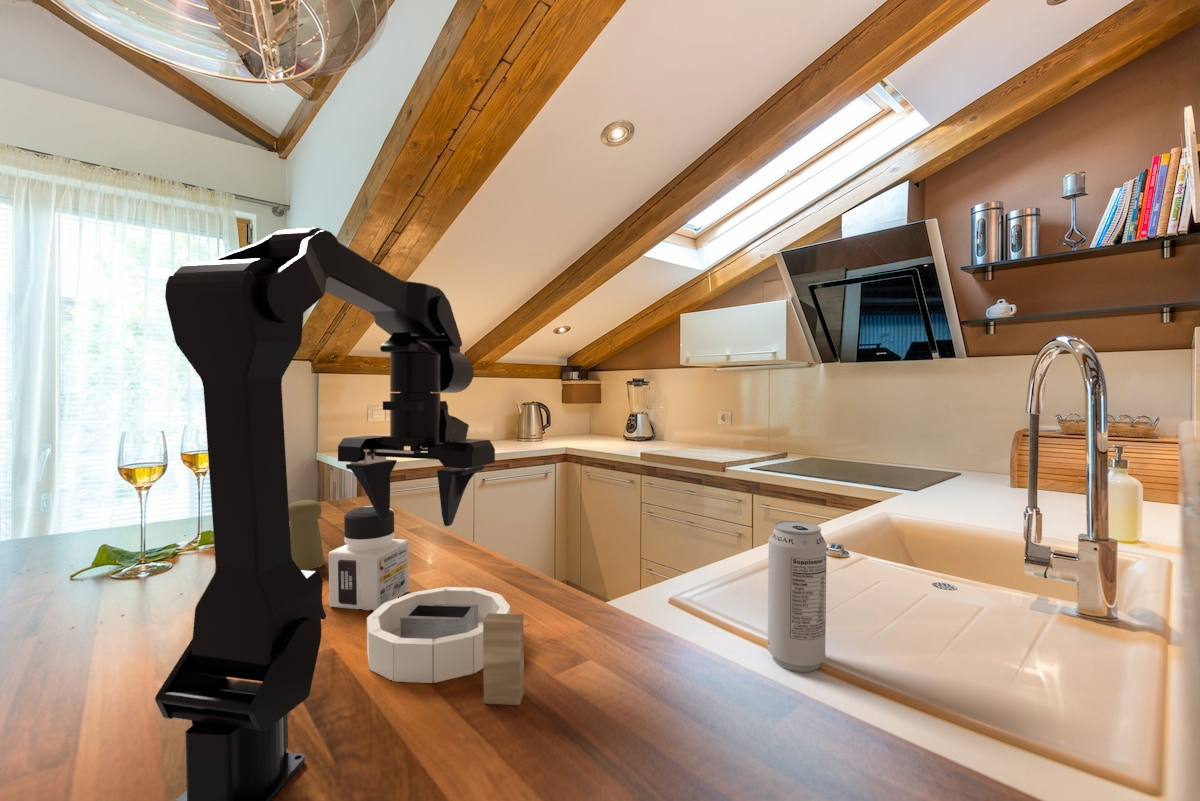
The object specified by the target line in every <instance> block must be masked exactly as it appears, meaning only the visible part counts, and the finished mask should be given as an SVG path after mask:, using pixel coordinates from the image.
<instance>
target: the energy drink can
mask: <svg viewBox="0 0 1200 801" xmlns="http://www.w3.org/2000/svg"><path fill="white" fill-rule="evenodd" d="M821 531H822V528H821V526H819V525H817V524H815V523H812V522H807V521H800V520H783V521H777V522H775V523H774V529H773V530H772V533H771V534H770V536H769V537H768V549H767V550H768V554H767V555H768V558H767V559H768V560H767V561H768V564H767V565H768V566H767V569H768V572H767V577H768V578H767V651H768V653H769V654H770V655H771V656H772V657H771V658H772V660H773V661H774V663H775V664H776V665H778V666H780V667H781V668H783V669H786V670H790V671H792V672H796V673H797V672H799V673H809V672H815V671H816V670H817V669H818V668H820V666H821V664H822V662H824V661H825V659H826V636H827V635H826V631H827V630H826V624H827V622H826V621H827V612H826V611H827V559H828V558H827V549H828V548H827V545H828V544H827V542H826V540H825V538H824V536H823V535H822V533H821Z"/></svg>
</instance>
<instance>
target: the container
mask: <svg viewBox="0 0 1200 801" xmlns="http://www.w3.org/2000/svg"><path fill="white" fill-rule="evenodd" d="M343 518H344V519H343V520H344V521H343V522H344V523H343V524H344V528H343V529H344V532H343V533H344V543H345V544H344V545H342V546H339V547H337V548H334V549H333V550H330V551H329V553H328V591H329V592H328V597H329V598H328V599H329V603H328V604H329V607H331V608H340V609H350V610H351V609H352V610H359V609H362V610H363V611H370V610H373V611H372V612H374V611H375V610H376V609H377V608H379V607H380V606H381V605H382V604H383V603H385V602H388V601H391V600H393V599H396V598H398V597H401V596H404V595H405V594H406V593H407V592H409V590H410V569H409V565H410V564H409V559H410V556H409V554H410V552H409V551H410V550H409V540H408V539H400V538H395V511H394V510H393V509H392V508H391V507H390V510H389V517H388V519H385V520H380V518H379V517H378V515H377V513H376V511H375V509H374V507H373V505H369V506H368V505H367V506H360V507H359V506H358V507H355V508H353V509H351V510H349V511H347V512H346V513H345V514H344V517H343ZM362 610H361V611H362Z"/></svg>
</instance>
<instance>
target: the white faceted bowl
mask: <svg viewBox="0 0 1200 801" xmlns="http://www.w3.org/2000/svg"><path fill="white" fill-rule="evenodd" d="M415 603H429V604H463V605H478V628H476V629H474V630H472V631H470V632H467V633H462V634H457V635H451V636H446V637H441V638H436V639H421V638H401V622H400V618H401V617H402V616H403V615H404V614H405V613H406V612H407V611H408V610H409V609H410V608H411V607H412V606H413V605H414V604H415ZM488 613H495V614H511V605H510V604H509V603H508V602H507V601H506V599H505V598H504V597H503V595H502V594H500V593H497V592H493V591H489V590H487V589H484V588H480V587H467V586H464V587H461V586H444V587H436V588H432V589H425V590H424V589H423V590H418V591H413V592H409V593H407V594H403V595H401V596H400V597H399V598H396V599H393V600H391V601H388V602H385V603H383V604H382V605H381V606H380V607H379V608H377V609H376V610H375V611H372V613H371V614H369V615H368V616H367V617H366V648H367V649H366V653H367V662H368V668H369V671H371V672H373V673H375V674H377V675H379V676H381V677H383V678H386V679H387V680H390V681H391V680H392V682H394V683H395V682H396V683H397V682H398V683H421V684H422V683H424V684H433V683H440V682H444V681H448V680H452V679H457V678H461V677H466V676H469V675H473V674H476V673H478V672H479V671H481V670H484V666H483V621H484V619H485V618H486V616H487V615H488Z"/></svg>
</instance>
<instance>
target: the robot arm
mask: <svg viewBox="0 0 1200 801" xmlns="http://www.w3.org/2000/svg"><path fill="white" fill-rule="evenodd" d="M326 293H327V294H329V295H331V296H334V297H335V298H338V299H340V300H342V301H344V302H347V303H348V304H350V305H353V306H355V307H357V308H359V309H362V310H364V311H366V312H368V313H369V314H371V315H373V319H374V324H376V326H377V327H379V328H380V329H382V330H383V331H384V332H386V333H388V335H390V337H389V338H388V339H387V340H386V341H384V342H383V343H382V344H381V345H380V348H379V349H380V352H382V353H387V354H388V353H389V354H390V356H389V357H390V358H389V359H390V360H389V362H390V363H389V365H390V366H389V367H390V368H389V369H390V370H389V371H390V373H389V375H390V376H389V378H390V379H389V380H390V381H389V388H390V389H389V390H390V393H389V397H390V398H389V399H390V400H389V401H388V400H387V401H385V400H384V401H382V411H389V412H390V413H389V428H390V429H389V431H390V433H389V434H390V435H372V434H371V435H362V436H361V435H360V436H351V437H350V436H349V437H343V438H342V440H341V441H340V442H339V444H338V446H337V461H338V462H346V464H345V468H346V469H347V470H351V471H352V473H353V476H355V478H356V479H357V481H358V482H359V484H360V485H361V487H362V489H363V490H364V492H365V494H366V495H367V497H368V499H369V501H370V503H371V506H373V507H374V509H375V511H376V513H377V515H378V517H379V518H380V520H385V519H388V517H389V510H390V508H391V474H392V472H393V470H394V468H395V466H396V464H397V462H398V460H397V459H387V458H401V459H402V458H406V459H423V460H438V461H439V462H440V463H441V464H442V466H443V467H444V468H442V469H437V471H436V473H437V482H438V483H437V484H438V491H439V492H438V493H439V502H440V507H441V508H440V510H441V517H442V521H443V526H445V527H450V526H452V525H453V523H454V520H455V517H456V515H457V513H458V509H459V507H460V503H461V502H462V499H463V495H464V493H465V490H466V488H467V486H468V484H469V482H470V480H471V479H472V478H473V476H475V474H476V473H477V472H481V471H484V470H485V467H486V465H487V466H488V465H490V464H494V463H495V462H496V448H495V446H494V445H493V444H492V442H491V440H490V439H482V438H467V437H468V431H469V427H470V426H469V424H468V423H467V422H465V421H463V420H461V419H460V418H458V417H456V416H453V415H450V414H449V405H448V402H447V401H446V400H441V393H442V394H443V393H445V394H446V393H447V394H454V393H456V394H457V393H461V392H463V391H464V390H466V389H467V388H469V387H470V385H471V383H472V381H473V379H474V374H475V373H474V372H475V371H474V367H473V365H472V361H471V359H470V358H469V357H467V355H465V353H463V352H461V347H463V341H462V338H461V334H460V332H459V328H458V325H457V322H456V318H455V315H454V312H453V308H452V305H451V303H450V301H449V299H448V298H447V296H446V294H445V293H444V292H443V290H441V288H440V287H437V286H434V285H430V284H427V283H423V282H416V281H415V282H414V281H407V280H402V279H400V278H398V277H397V276H395V275H393V274H391V273H390V272H389V271H387V270H385V269H384V268H382V267H381V266H379V265H377V264H376V263H374V262H372V261H371V260H369V259H368V258H366V257H365V256H363V255H361V254H359V253H358V252H355V251H354V250H353V249H351V248H349V247H348V246H346V245H344V244H343V243H341V242H339V241H338V239H337V237H336V236H335V235H334V234H333V233H332V232H331V231H328V230H326V229H325V230H324V229H322V228H320V227H310V228H307V227H306V228H294V229H293V228H291V229H290V228H289V229H280V230H276V231H275V232H273V233H271V234H269V235H267V236H266V237H264V238H262V239H261V240H259V241H257V242H254V243H251V244H250V245H247V246H244V247H241V248H239V249H236V250H234V251H231V252H228V253H225V254H223V255H220V256H217V257H216V258H213V259H211V260H208V261H206V260H205V261H204V260H203V261H191V262H189V263H186V264H183V265H181V266H180V267H179V268H178V269H177V270H176V271H175V272H174V273H173V274H171V275H169V276H168V278H167V282H166V284H165V294H164V295H165V296H164V297H165V304H166V309H167V312H168V315H169V316H168V317H169V321H170V325H171V329H172V333H173V338H174V342H175V344H176V345H177V347H178V349H179V350H180V351H181V354H183V356H184V357H185V359H187V361H188V362H189V364H190V365H191V366H192V368H193V370H194V371H195V372H196V374H197V375H198V376H199V378H200V380H201V382H202V387H203V401H204V412H205V413H204V414H205V427H206V428H205V431H206V442H207V457H208V458H207V459H208V470H209V471H208V472H209V473H208V474H209V487H210V500H211V514H212V515H211V516H212V518H211V519H212V530H213V544H214V545H213V546H214V557H215V572H214V573H213V575H212V577H211V579H210V581H209V582H208V584H207V585H206V587H205V589H204V591H203V592H202V595H201V596H200V598H199V600H198V601H197V604H196V605H195V610H194V618H193V630H192V639H191V640H190V642H189V643H188V645H187V646H186V648H185V649H184V651H183V653H182V654H181V656H180V657H179V659H178V661H177V662H176V663H175V665H174V667H173V668H172V669H171V671H170V673H169V675H168V676H167V677H166V679H165V681H164V682H163V684H162V685H161V687H160V689H159V690H158V692H157V694H156V695H155V697H154V699H155V703H156V704H157V707H158V710H159V711H160V714H161V715H162V717H163V718H164V719H168V720H171V719H181V720H186V721H191V726H190V727H189V728H188V729H186V730H185V763H186V764H185V765H186V766H185V767H186V768H185V769H186V774H185V775H186V790H185V791H184V792H183V793H182V794H181V795H179V796H178V797H177V799H175V800H174V801H272V800H273V799H274V797H275V796H276V795H277V794H278V793H279V792H280V791H281V790H282V788H283V787H284V786H285V785H286V784H287V783H288V782H289V780H290V779H291V778H293V776H294V775H295V774H296V772H297V771H298V770H299V769H300V768H301V767H302V766H303V765H304V763H305V762H306V754H305V753H302V752H300V753H299V752H288V748H289V731H288V730H289V728H288V727H289V724H288V722H289V720H288V714H289V713H290V712H292V711H293V710H294V709H295V708H297V707H298V706H299V705H301V704H302V703H303V702H304V701H306V700H307V699H308V698H309V697H310V694H311V688H312V684H313V678H314V675H315V670H316V665H317V660H318V655H319V650H320V646H321V640H322V620H325V619H326V618H327V614H326V612H325V610H324V605H323V586H324V585H323V584H324V581H323V578H322V575H321V573H320V571H318V570H300V569H299V567H298V566H297V564H296V563H295V562H294V560H293V558H292V555H291V542H290V521H289V507H288V506H289V494H288V493H289V490H288V475H287V460H286V459H287V457H286V443H285V442H286V440H285V438H286V437H285V428H284V427H285V422H284V408H283V407H284V406H283V405H284V404H283V390H282V389H283V388H282V387H283V386H282V380H283V377H284V375H285V373H286V371H288V370H287V369H288V368H289V366H290V364H291V363H292V361H293V360H294V358H295V356H296V354H297V352H298V351H299V349H300V348H301V345H302V338H303V329H304V328H303V326H304V325H303V324H304V314H305V312H306V311H307V310H309V309H310V308H311V307H312V306H313V305H315V304H316V303H317V302H319V300H321V299H322V298H323V297H324V295H325V294H326ZM405 447H410V449H405ZM348 462H349V463H348Z"/></svg>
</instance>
